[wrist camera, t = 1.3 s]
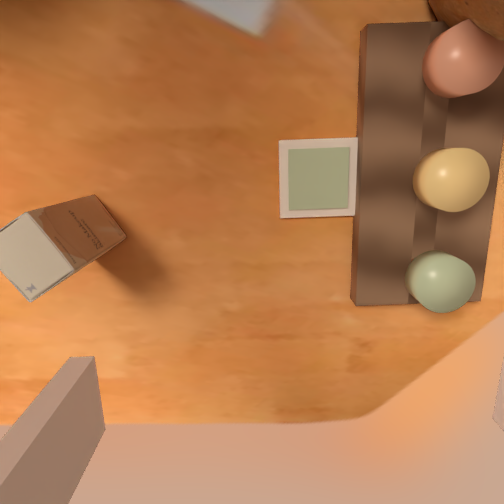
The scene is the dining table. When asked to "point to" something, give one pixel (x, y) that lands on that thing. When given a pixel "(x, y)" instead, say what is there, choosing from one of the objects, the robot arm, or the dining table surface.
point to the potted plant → (472, 14)
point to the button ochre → (451, 178)
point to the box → (55, 243)
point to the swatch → (317, 177)
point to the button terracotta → (462, 61)
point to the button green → (440, 281)
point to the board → (414, 163)
